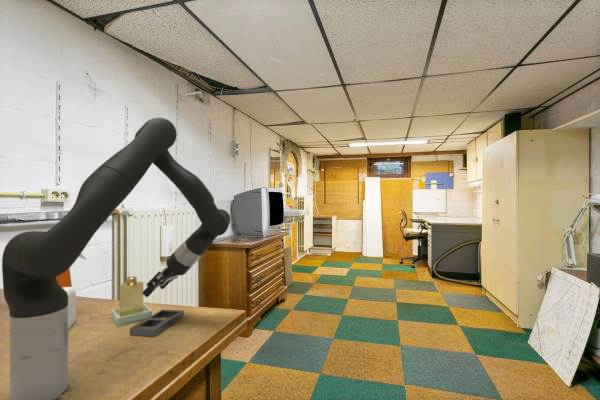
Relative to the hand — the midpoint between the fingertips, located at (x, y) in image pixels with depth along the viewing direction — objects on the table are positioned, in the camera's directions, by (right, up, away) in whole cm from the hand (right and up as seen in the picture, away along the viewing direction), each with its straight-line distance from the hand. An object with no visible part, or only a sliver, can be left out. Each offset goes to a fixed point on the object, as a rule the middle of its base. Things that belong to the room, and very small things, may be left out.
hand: (153, 290), depth 103 cm
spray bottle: (-30, -10, +2) cm, 31 cm away
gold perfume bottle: (-8, -9, +1) cm, 12 cm away
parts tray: (-8, -9, +1) cm, 12 cm away
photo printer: (-25, -10, -7) cm, 27 cm away
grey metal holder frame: (+4, -9, -5) cm, 11 cm away
